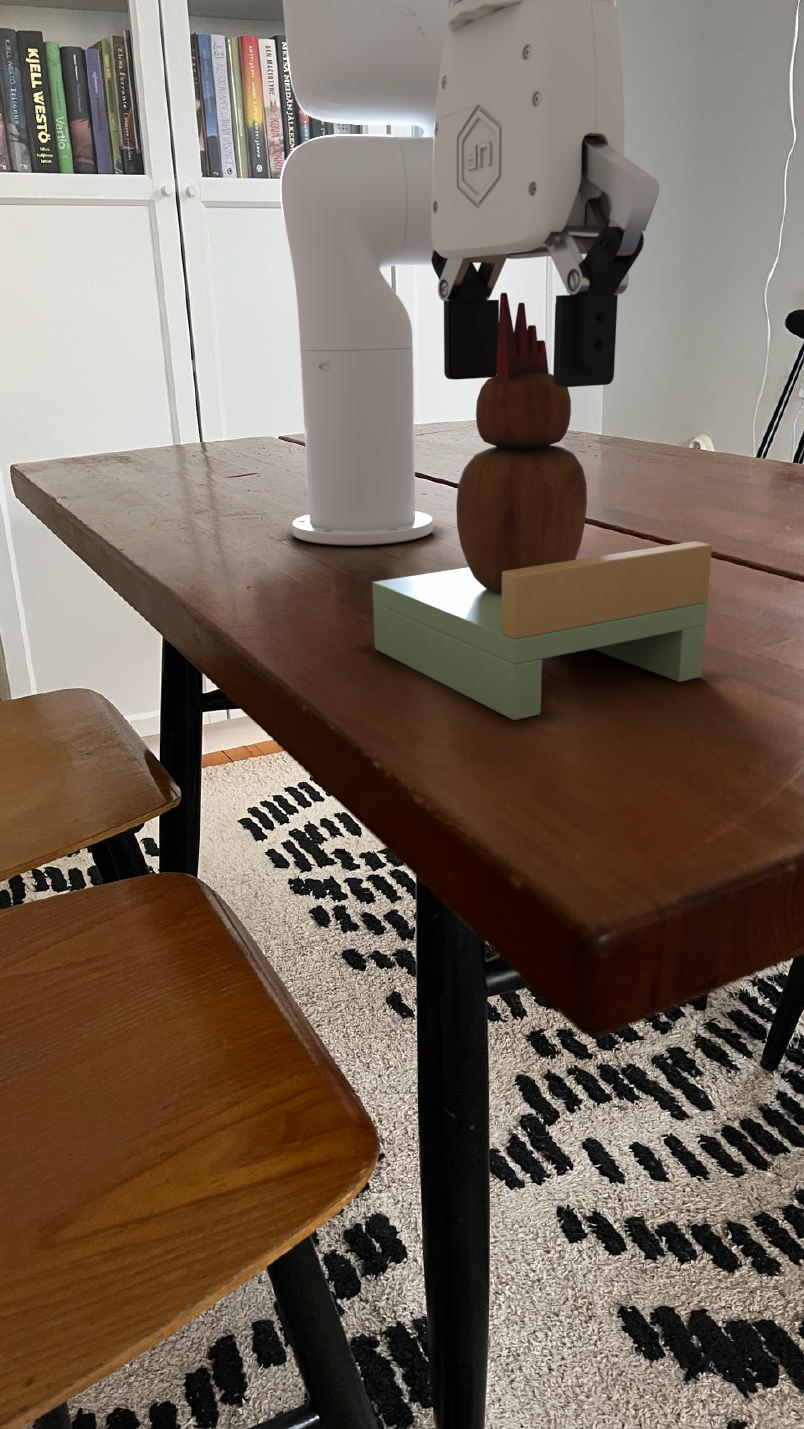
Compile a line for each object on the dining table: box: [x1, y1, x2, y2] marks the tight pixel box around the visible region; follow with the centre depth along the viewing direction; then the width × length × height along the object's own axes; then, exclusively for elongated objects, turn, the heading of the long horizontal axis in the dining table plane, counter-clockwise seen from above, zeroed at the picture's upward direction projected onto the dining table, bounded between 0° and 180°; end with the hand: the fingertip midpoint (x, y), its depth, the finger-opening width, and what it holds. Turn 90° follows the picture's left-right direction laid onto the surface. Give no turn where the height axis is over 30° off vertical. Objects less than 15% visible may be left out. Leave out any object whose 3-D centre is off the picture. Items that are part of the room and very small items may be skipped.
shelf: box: [371, 540, 713, 721], centre depth 57 cm, size 14×12×7 cm
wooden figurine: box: [455, 292, 588, 593], centre depth 55 cm, size 7×6×15 cm
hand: (523, 381), depth 54 cm, fingers open, 9 cm apart
